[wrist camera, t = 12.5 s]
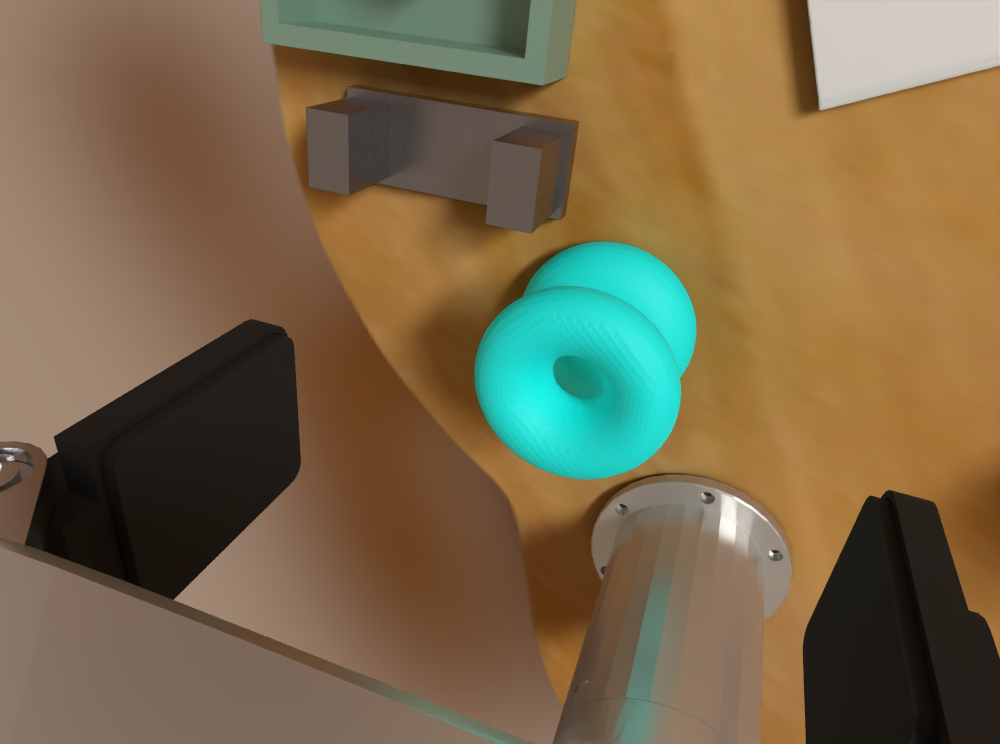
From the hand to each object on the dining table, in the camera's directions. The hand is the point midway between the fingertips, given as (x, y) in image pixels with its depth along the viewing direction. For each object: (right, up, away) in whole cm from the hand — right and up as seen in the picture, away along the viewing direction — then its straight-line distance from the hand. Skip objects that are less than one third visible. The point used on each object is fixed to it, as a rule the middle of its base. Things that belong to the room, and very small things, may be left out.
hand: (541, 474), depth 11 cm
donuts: (+6, +5, +29) cm, 30 cm away
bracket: (-3, +14, +28) cm, 31 cm away
